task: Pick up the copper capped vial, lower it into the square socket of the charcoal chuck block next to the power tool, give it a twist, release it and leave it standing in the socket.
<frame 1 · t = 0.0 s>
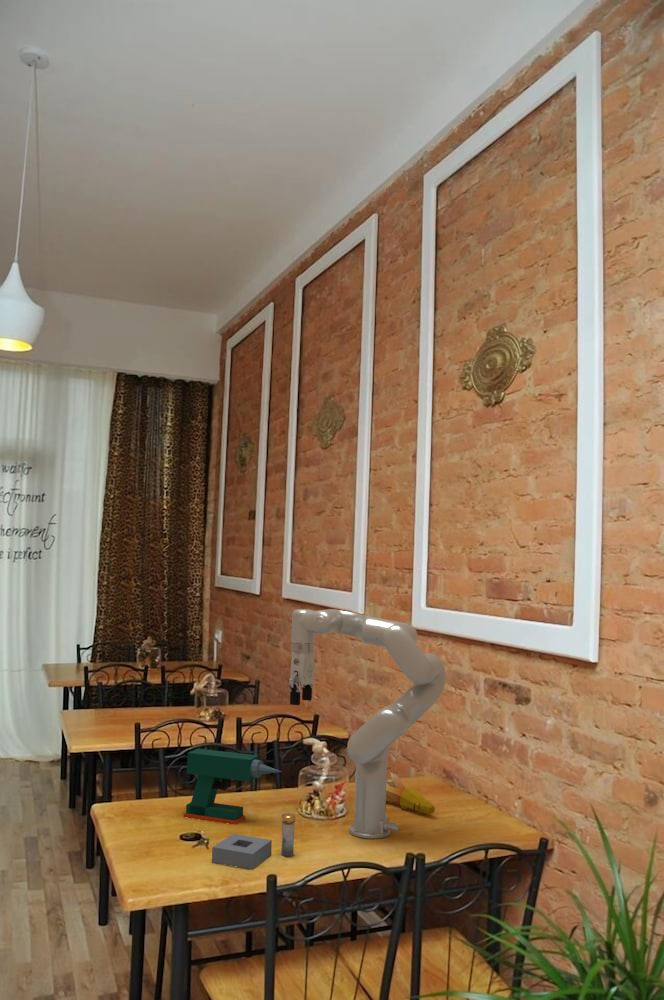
hand: (301, 702, 254), 37 cm above the table, tool pointing down, fingers open, 9 cm apart
chuck block: (241, 858, 218), on the table
power tool: (233, 821, 250), on the table
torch: (406, 810, 267), on the table
copper capped vial: (287, 854, 221), on the table
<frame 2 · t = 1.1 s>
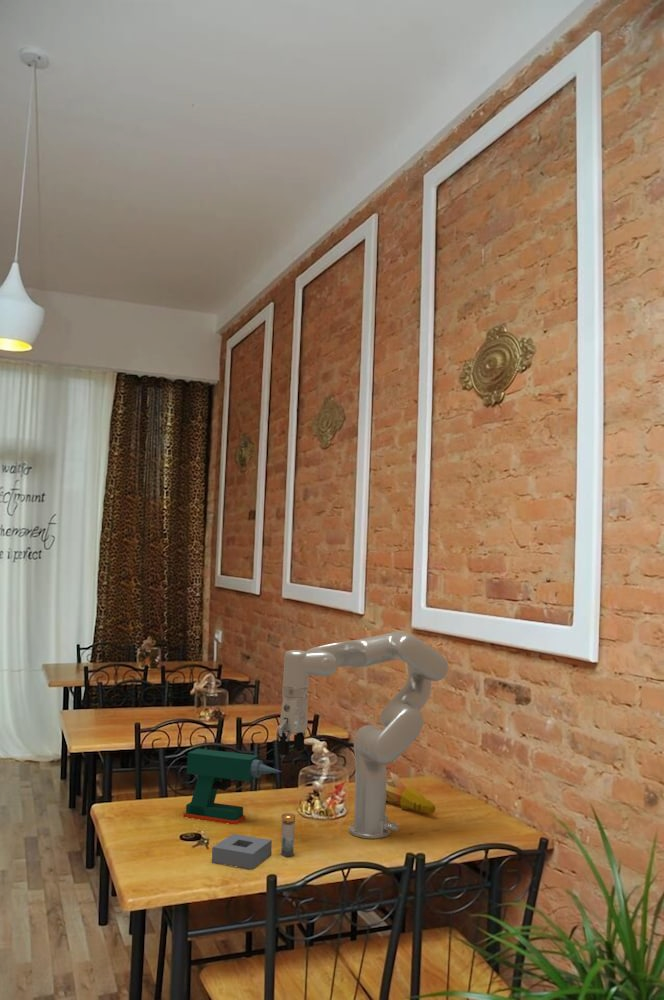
hand: (291, 751, 234), 25 cm above the table, tool pointing down, fingers open, 9 cm apart
nothing on the table moved.
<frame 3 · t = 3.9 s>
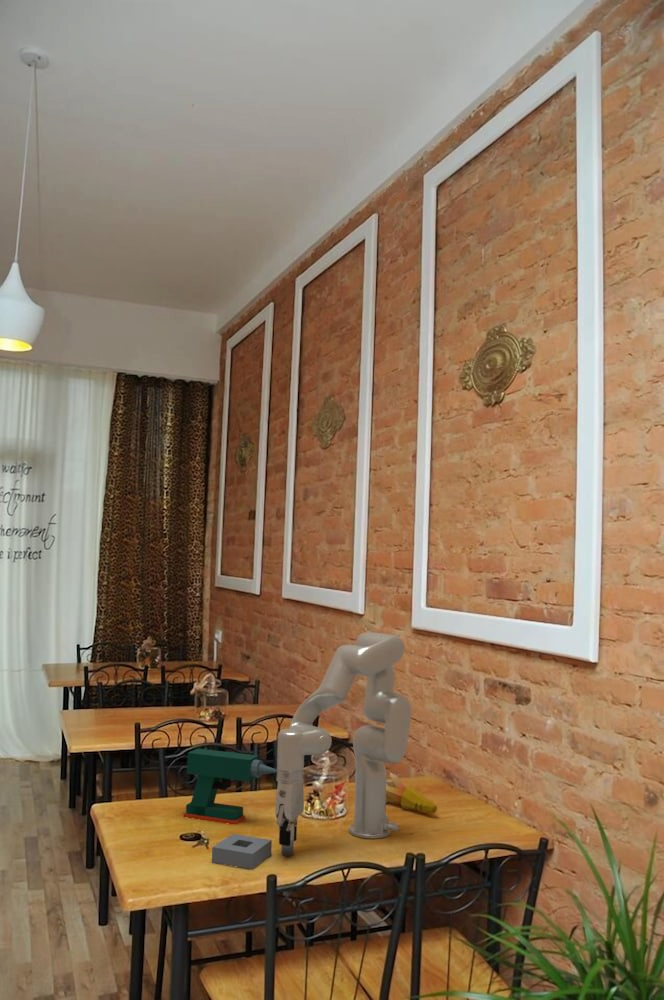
hand: (287, 841, 222), 3 cm above the table, tool pointing down, fingers closed on copper capped vial, 3 cm apart
copper capped vial: (287, 854, 221), on the table, touching gripper
everything else where it was.
when the fingers open (5 cm above the table, at t = 8.9 s): copper capped vial drops 1 cm, resting in chuck block.
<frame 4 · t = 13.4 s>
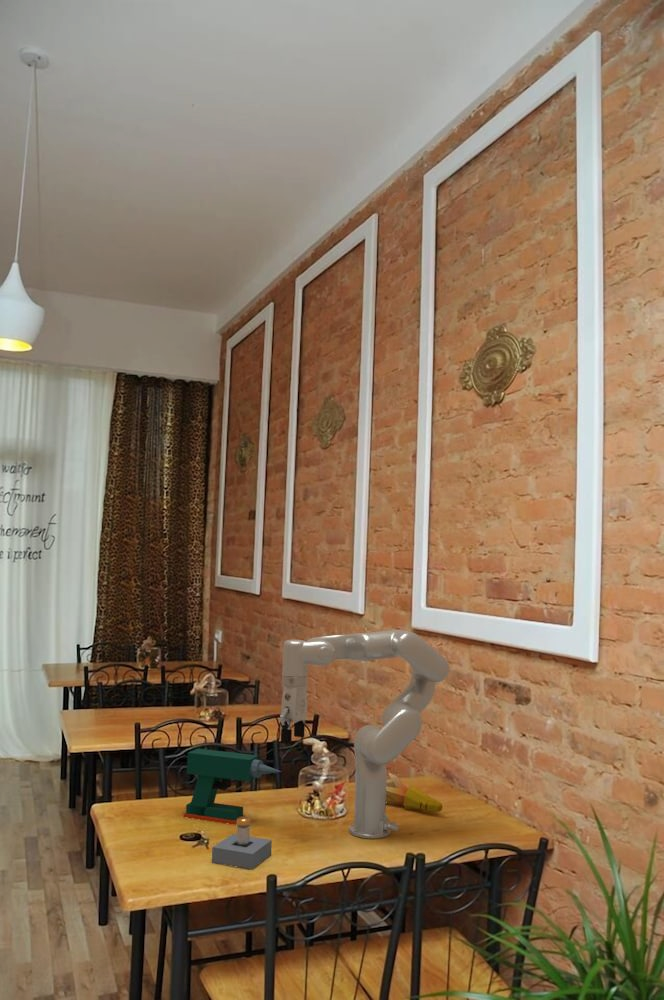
hand: (292, 739, 238), 28 cm above the table, tool pointing down, fingers open, 9 cm apart
copper capped vial: (242, 858, 218), resting in chuck block
at the end: copper capped vial 0.1 cm off-centre on the chuck block, point 0.0 cm above the chuck block's base; copper capped vial tilted 0°; the gripper is holding nothing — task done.
